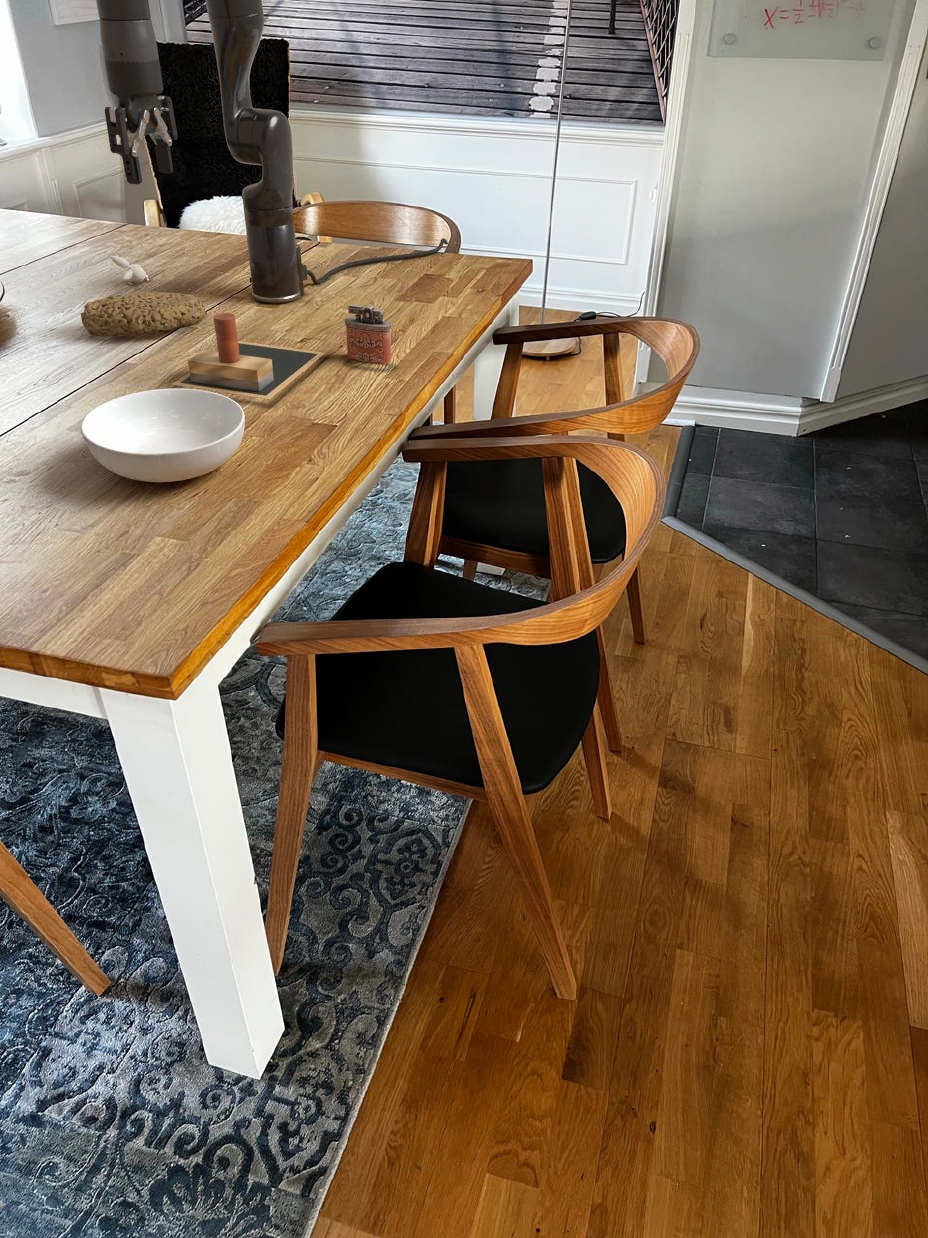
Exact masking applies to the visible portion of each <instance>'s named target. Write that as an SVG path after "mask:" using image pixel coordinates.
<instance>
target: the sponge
mask: <svg viewBox="0 0 928 1238" xmlns="http://www.w3.org/2000/svg"><path fill="white" fill-rule="evenodd" d="M83 307H84V310H83V312H81V313H80V319H81V323H82V326H83V327H84V329H85V330H86V331H87V333H88V334H89V336H93V337H121V336H123V337H124V336H127V337H128V336H146V335H148V336H153V335H158V334H165V333H170V332H174V331H177V330H179V329H180V328H184V327H188V326H192V325H194V324H196V323H198V322H199V321H201V320H203V319H204V318H206V317H207V315H208V313H207V309H206V308H207V307H206V303H205V301H203V300H201V299H199V298H197V296H195V295H192V294H188V293H179V292H166V291H165V292H164V291H142V292H136V293H135V292H134V293H130V294H127V295H122V296H115V295H109V296H107V297H105V298H101V299H96V300H93V301H88V302H86V304H85V305H84V306H83Z"/></svg>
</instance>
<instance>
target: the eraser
mask: <svg viewBox="0 0 928 1238" xmlns="http://www.w3.org/2000/svg"><path fill="white" fill-rule="evenodd" d="M236 321H237V320H236V315H235V314H234V313H229V312H222V313H217V314H214V316H213V324H214V333H215V340H216V347H217V351H216V350H208V349H202V350H201V351H199V352H198V353H196V354H195V355H194V356H192V357H191V358H189V359H188V360H187V366H188V373H189V372H190V379H191V382H197V383H204V384H211V385H217V386H224V387H231V388H238V389H244V390H251V391H258V392H260V391H261V390H262V389H263V388H265V387H266V386H267V385H268V384H270V383H271V382H272V381H273V380H274V378H273V367H272V359H267V358H260V357H253V356H245V355H240V354H239V345H238V341H239V339H238V331H237V322H236Z"/></svg>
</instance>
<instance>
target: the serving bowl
mask: <svg viewBox="0 0 928 1238" xmlns="http://www.w3.org/2000/svg"><path fill="white" fill-rule="evenodd" d="M243 409H244V408H242V406H241V405H240V404H239V403H237V402H236V401H235V400H234V399H232V398H230V397H228V396H225V395H223V394H220V393H217V392H215V391H210V390H204V389H197V388H179V387H177V388H159V389H149V390H142V391H138V392H133V393H128V394H125V395H122V396H121V395H120V396H118V397H115V398H112V399H110V400H107V401H105V402H103V403H101V404H99V405H98V406H96V407H94V408H93V409H92V410H90V412H88V413H87V414H86V415H85V416H84V418H82V421H81V423H80V433H81V435H82V438H83V440H84V444H85V445H86V447H87V449H88V450H89V452H90V453H91V455H92V456H93V458H94V459H95V460H96V461H97V462H98V463H99V464H101V466H103V467H104V468H106V469H107V470H109V471H111V472H112V473H114V474H116V475H119V476H121V477H123V478H127V479H130V480H134V481H140V482H147V483H148V482H149V483H170V482H178V481H184V480H190V479H194V478H197V477H201V476H204V475H206V474H208V473H210V472H212V471H215V470H217V469H218V468H221V466H222V465H224V464H225V463H227V462H228V461H229V460H230V459H231V458H232V457H233V456H234V454H235V453H236V452H237V450H238V449H239V447H240V445H241V443H242V441H243V437H244V434H245V422H246V415H245V411H244V410H243Z"/></svg>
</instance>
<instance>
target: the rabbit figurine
mask: <svg viewBox="0 0 928 1238" xmlns="http://www.w3.org/2000/svg"><path fill="white" fill-rule="evenodd" d="M110 259H111V261H112V262H113V264H115V265H117V266H118V267H121V268H122V269H128V270H127V271H126V272H125V273H123V275H122V280H123V281H125V282H127V283H128V285H130V286H133V283H131V282H129V281H130V280H131V279H132V280H133V281H134V282H137V283H142V282H144V280H145V279H146V281H149V282H150V279H149V275H148V274H146V272H145V270H144V268H143V267H142V266H141V265H140V264H137V263H132V264H130V263H129V261H128V260H127V259H124V258H123V257H120V256H117V255H111V256H110Z"/></svg>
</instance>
